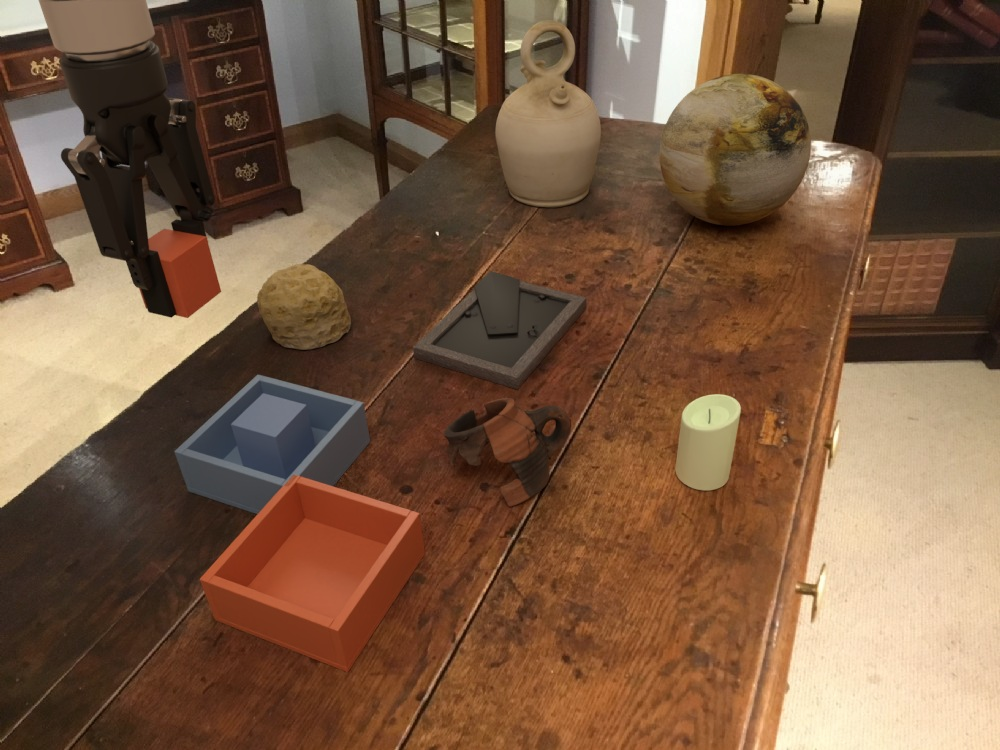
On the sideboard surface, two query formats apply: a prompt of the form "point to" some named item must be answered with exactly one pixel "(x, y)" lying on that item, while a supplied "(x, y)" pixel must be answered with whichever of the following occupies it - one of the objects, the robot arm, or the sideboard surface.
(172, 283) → the rust block
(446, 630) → the sideboard surface
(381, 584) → the rust bin
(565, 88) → the jug
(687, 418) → the candle
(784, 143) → the decorative sphere
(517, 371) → the picture frame
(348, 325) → the rock
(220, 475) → the slate bin
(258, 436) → the slate block
